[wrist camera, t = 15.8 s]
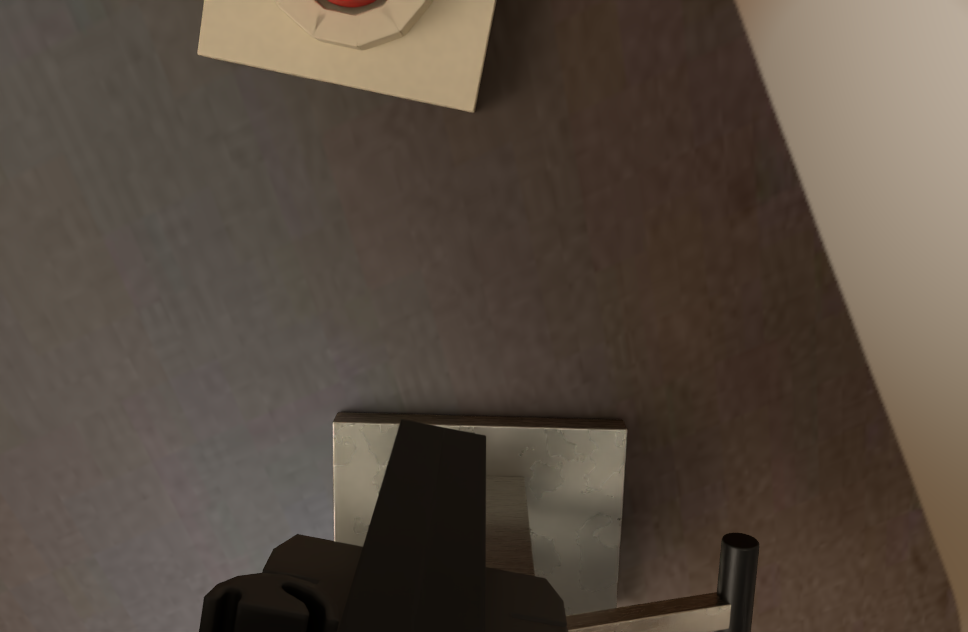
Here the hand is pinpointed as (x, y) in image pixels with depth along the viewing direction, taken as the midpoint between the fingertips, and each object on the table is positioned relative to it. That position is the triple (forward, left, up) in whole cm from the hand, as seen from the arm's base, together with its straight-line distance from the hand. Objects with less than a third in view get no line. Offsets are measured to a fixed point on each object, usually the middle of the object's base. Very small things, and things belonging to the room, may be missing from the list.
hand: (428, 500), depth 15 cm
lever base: (-3, +12, -26) cm, 29 cm away
